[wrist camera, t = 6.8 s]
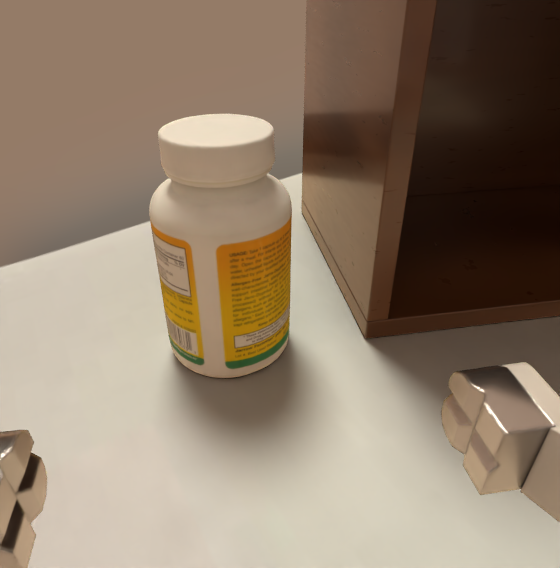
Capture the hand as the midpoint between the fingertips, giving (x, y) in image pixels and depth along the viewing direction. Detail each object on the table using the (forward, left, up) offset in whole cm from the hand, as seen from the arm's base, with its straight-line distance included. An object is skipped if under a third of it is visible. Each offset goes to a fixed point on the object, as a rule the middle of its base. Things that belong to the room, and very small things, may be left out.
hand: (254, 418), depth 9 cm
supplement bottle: (-2, -10, -7) cm, 13 cm away
